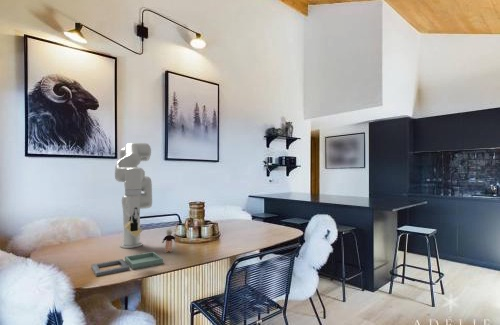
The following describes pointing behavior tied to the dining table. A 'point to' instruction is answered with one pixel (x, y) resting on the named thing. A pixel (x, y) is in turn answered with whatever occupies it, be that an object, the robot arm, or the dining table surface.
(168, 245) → the grandmother figurine
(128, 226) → the brass peg
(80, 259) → the dining table surface
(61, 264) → the dining table surface
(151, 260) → the tray
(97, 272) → the collar block
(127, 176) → the robot arm
